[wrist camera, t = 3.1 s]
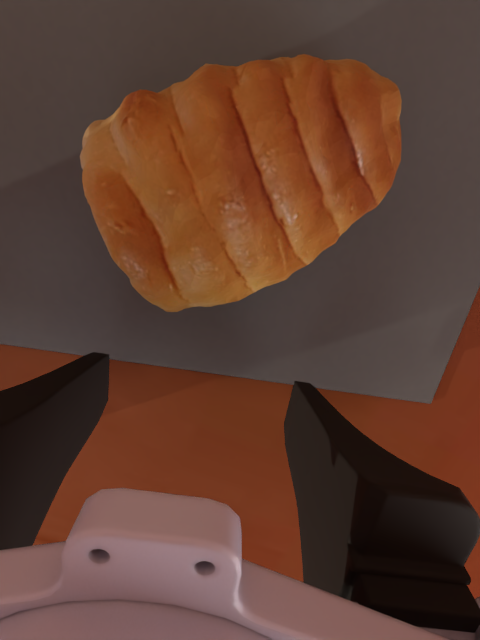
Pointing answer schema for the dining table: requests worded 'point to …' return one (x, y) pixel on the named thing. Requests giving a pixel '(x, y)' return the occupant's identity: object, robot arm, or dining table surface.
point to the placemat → (304, 284)
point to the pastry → (239, 174)
